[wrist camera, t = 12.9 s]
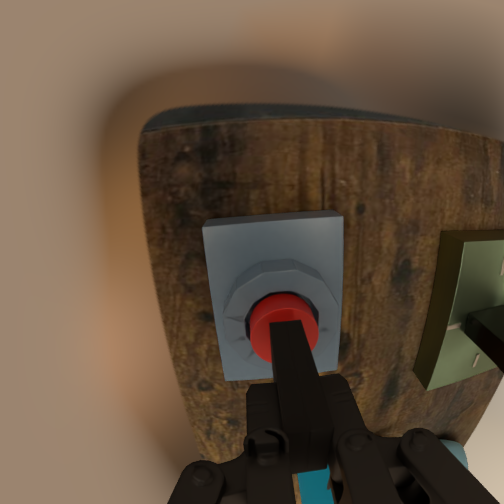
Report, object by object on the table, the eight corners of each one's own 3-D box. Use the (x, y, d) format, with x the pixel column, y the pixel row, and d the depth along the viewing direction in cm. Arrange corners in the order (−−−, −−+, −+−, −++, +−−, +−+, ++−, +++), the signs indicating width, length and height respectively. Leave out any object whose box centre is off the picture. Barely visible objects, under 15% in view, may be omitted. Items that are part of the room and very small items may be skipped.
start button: (247, 296, 16) (247, 311, 15) (312, 289, 16) (319, 304, 15) (252, 349, 18) (253, 367, 16) (312, 343, 18) (318, 360, 16)
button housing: (206, 219, 19) (196, 235, 15) (333, 209, 19) (354, 222, 15) (226, 362, 22) (223, 398, 18) (330, 352, 22) (343, 386, 18)
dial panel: (440, 231, 19) (464, 242, 16) (516, 229, 19) (539, 238, 16) (411, 371, 23) (426, 392, 20) (486, 350, 23) (502, 365, 20)
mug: (313, 479, 28) (322, 533, 20) (282, 454, 26) (289, 518, 18) (404, 438, 27) (428, 489, 19) (389, 405, 24) (420, 466, 17)
